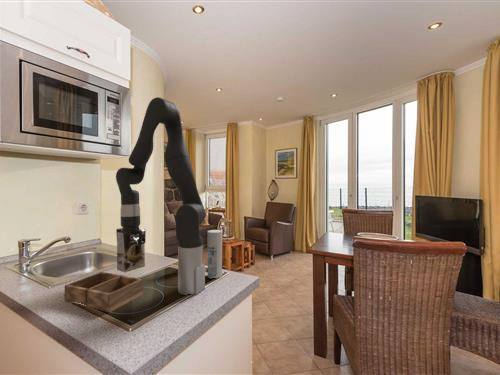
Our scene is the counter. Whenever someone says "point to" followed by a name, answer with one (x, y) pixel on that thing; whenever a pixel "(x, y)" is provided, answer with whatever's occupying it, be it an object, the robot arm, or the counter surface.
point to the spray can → (214, 253)
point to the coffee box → (129, 252)
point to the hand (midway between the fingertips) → (131, 253)
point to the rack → (104, 291)
